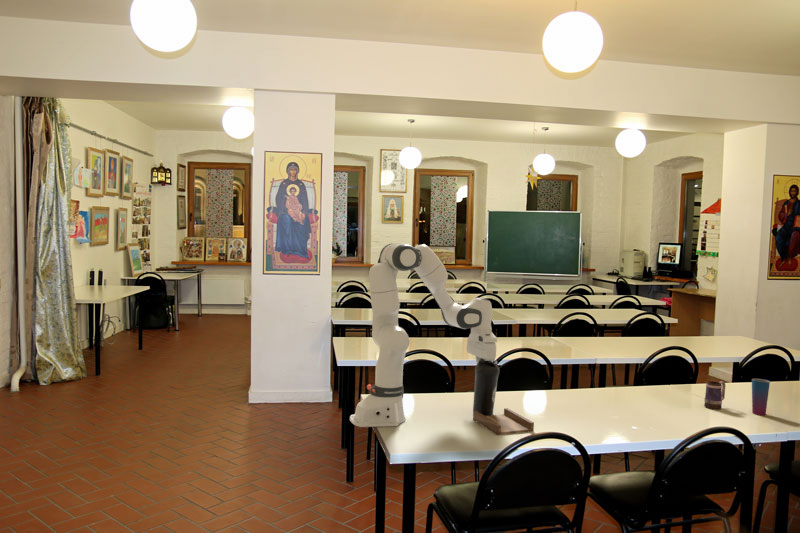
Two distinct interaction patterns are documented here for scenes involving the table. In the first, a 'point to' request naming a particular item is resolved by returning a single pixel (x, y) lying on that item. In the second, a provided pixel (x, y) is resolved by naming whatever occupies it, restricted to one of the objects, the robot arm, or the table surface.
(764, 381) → the cup
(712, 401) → the mug
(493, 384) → the water bottle
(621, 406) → the table surface
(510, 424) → the cradle
